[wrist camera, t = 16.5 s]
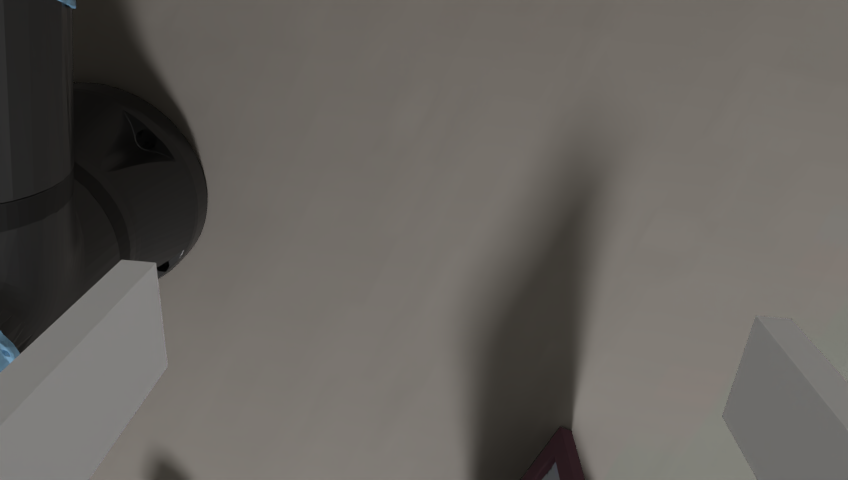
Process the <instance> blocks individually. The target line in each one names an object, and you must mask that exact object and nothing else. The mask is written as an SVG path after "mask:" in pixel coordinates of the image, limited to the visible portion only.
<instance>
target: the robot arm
mask: <svg viewBox="0 0 848 480" xmlns="http://www.w3.org/2000/svg"><path fill="white" fill-rule="evenodd" d="M72 8H73V9H76V0H0V480H89V479H90V478H91V476H92V475H93V473H94V472H95V470H96V469H97V468H98V466H99V465H100V463H101V462H102V460H103V459H104V457H105V456H106V455H107V453H108V452H109V450H110V449H111V447H112V446H113V444H114V443H115V442H116V440H117V439H118V437H119V436H120V434H121V433H122V431H123V430H124V429H125V427H126V426H127V424H128V423H129V421H130V420H131V418H132V417H133V416H134V414H135V413H136V411H137V410H138V408H139V407H140V405H141V404H142V403H143V401H144V400H145V398H146V397H147V395H148V394H149V393H150V391H151V390H152V388H153V387H154V385H155V384H156V382H157V381H158V380H159V378H160V377H161V375H162V374H163V372H164V371H165V369H166V368H167V367H168V363H167V354H166V345H165V336H164V328H163V319H162V310H161V301H160V293H159V284H158V279H159V278H161V277H162V276H164V275H165V274H167V273H168V272H169V271H171V270H172V269H173V268H174V267H175V266H176V265H177V264H178V263H179V262H180V261H181V260H182V259H183V258H184V257H185V256H186V255H187V253H188V252H189V251H190V250H191V249H192V247H193V246H194V245H195V243H196V242H197V240H198V238H199V236H200V234H201V232H202V229H203V226H204V223H205V219H206V213H207V190H206V184H205V179H204V175H203V172H202V169H201V166H200V164H199V161H198V159H197V157H196V155H195V153H194V151H193V150H192V148H191V146H190V145H189V143H188V142H187V140H186V139H185V137H184V136H183V135H182V133H181V132H180V131H179V130H178V129H177V127H176V126H175V125H174V124H173V123H172V122H171V121H170V120H169V119H168V118H167V117H165V116H164V115H163V114H162V113H161V112H160V111H158V110H157V109H156V108H154V107H153V106H151V105H150V104H148V103H147V102H145V101H144V100H142V99H140V98H138V97H136V96H134V95H132V94H130V93H128V92H125V91H123V90H120V89H117V88H114V87H110V86H106V85H101V84H94V83H73V25H72ZM722 417H723V419H724V421H725V422H726V424H727V426H728V428H729V430H730V431H731V433H732V435H733V437H734V439H735V440H736V442H737V444H738V446H739V448H740V449H741V451H742V453H743V455H744V457H745V458H746V460H747V462H748V464H749V466H750V467H751V469H752V471H753V473H754V475H755V476H756V478H757V480H848V382H847V381H846V380H845V379H844V377H843V376H842V375H841V374H840V373H839V372H838V371H837V369H836V368H835V367H834V366H833V365H832V364H831V363H830V362H829V360H828V359H827V358H826V357H825V356H824V355H823V354H822V353H821V351H820V350H819V349H818V348H817V347H816V346H815V345H814V344H813V342H812V341H811V340H810V339H809V338H808V337H807V336H806V334H805V333H804V332H803V331H802V330H801V329H800V328H799V327H798V325H797V324H796V323H795V322H794V321H793V320H792V319H790V318H778V317H767V316H756V317H755V320H754V323H753V326H752V329H751V332H750V335H749V338H748V341H747V344H746V347H745V350H744V353H743V356H742V359H741V361H740V364H739V367H738V370H737V373H736V376H735V379H734V382H733V385H732V388H731V391H730V394H729V397H728V400H727V403H726V406H725V409H724V412H723V415H722Z"/></svg>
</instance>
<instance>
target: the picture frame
mask: <svg viewBox="0 0 848 480" xmlns="http://www.w3.org/2000/svg"><path fill="white" fill-rule="evenodd" d="M521 480H585V479H584V475H583V471H582V468H581V464H580V460H579V457H578V453H577V449H576V445H575V442H574V438H573V434H572V431H570V430H568V429H565V428H563V427H560V428H559V429H558V430H557V432H556V433H555V434H554V436H553V437H552V438H551V440H550V441H549V442H548V444H547V445H546V446H545V448H544V449H543V450H542V452H541V453H540V454H539V456H538V457H537V458H536V460H535V461H534V462H533V464H532V465H531V466H530V468H529V469H528V471H527V472H526V473H525V475H524V476H523V477H522V479H521Z"/></svg>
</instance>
